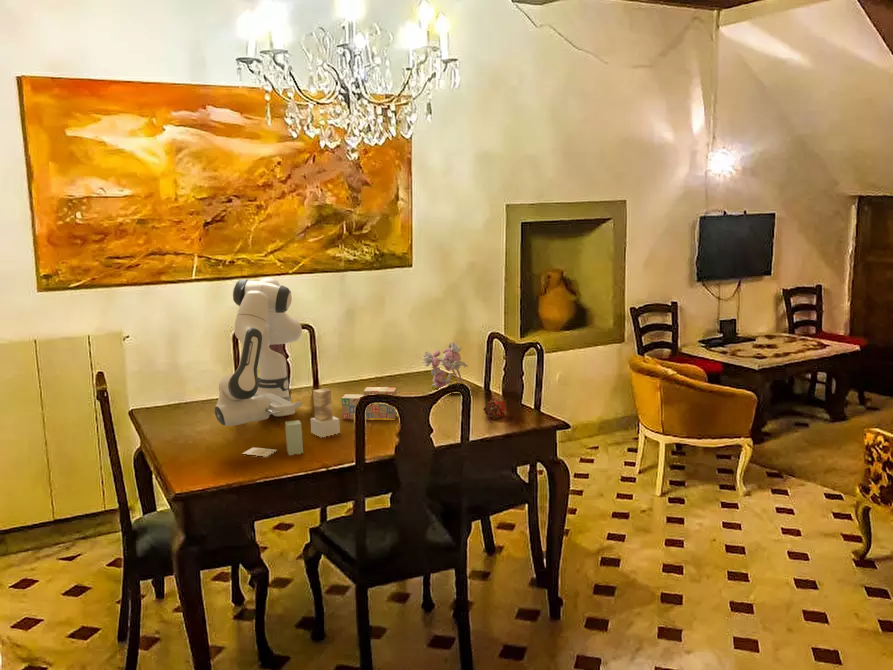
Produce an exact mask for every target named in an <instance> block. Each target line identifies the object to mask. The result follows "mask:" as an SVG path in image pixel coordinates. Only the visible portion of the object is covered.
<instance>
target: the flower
mask: <svg viewBox="0 0 893 670" xmlns="http://www.w3.org/2000/svg"><path fill="white" fill-rule="evenodd" d="M458 344H459V341H457V342H456V343H455V341H453V342H450V343H449V344H448V345H447V348H444V349H443V350H442V353H443V354H442V355H441V352H440V350H438V349H437V350H434V351H433V353H431V352H430V351H425V352H424V355H423V358H421V357H419V359H420V360H422V364H424V365H423V366H425V367H429V366H430V365H431V366H432V367H431V368H432V369H431V370H430V374H431V375H432V376H433V377H432V378H433V379H432V380H431V381H432V382H433V383H432V384H431V386H432V387H436V388H437V387H438V388H437V389H439V387H443V386H447V385H448V384H452V383H454V382H453V381H452V379H451V378H452V377H455V378H456V380H457V382H458V384H459V383H463V379H462V375H461V373H460V370H459V369H460V368H461V367H462V366H463V368H466V367H467V368H468V367H469V365H468V364H466V363H465V362H464V361H462V360H461V359H462V357H461V354H460V353H459V352H461V350H462V349H463V348H462V347H460V346H461V345H460V344H459V345H458ZM440 355H441V356H442V357H440V358H438V357H439V356H440ZM423 361H424V362H423ZM440 363H441V364H440ZM439 365H440V366H442V367H444V368H445V370H444V369H441V368H440V366H439ZM446 371H447V372H450V371H452V372H450V373H449V374H448V375H447V372H446ZM446 375H447V376H446Z"/></svg>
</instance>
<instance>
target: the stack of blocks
mask: <svg viewBox="0 0 893 670" xmlns="http://www.w3.org/2000/svg"><path fill="white" fill-rule="evenodd" d="M369 394H392V395H397V387H388V386H381V387H379V386H377V387H374V386H373V387H371V386H370V387H369V386H367V387H365V388H364V390H363V394H362V393H361V394H359V393H357V394H355V393H354V394H351V393H349V394H347V393H346V394H344V395H343V396H342V397H341V408H342V411H341V412H342V420H343V419H353V420H352V421H355V420H354V413H355V407H356V404H357V402H358V400H359V398H360V397H362V396H364V395H369ZM396 415H397V416H398V411H397V412H396V411H395V409H394V408H393V407H391V406H389V405H386V404H371V405H370V406H368V407H367V409H366V418H389V419H390V418H391V419H395V417H396ZM396 418H397V417H396ZM395 420H396V419H395Z"/></svg>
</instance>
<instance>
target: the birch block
mask: <svg viewBox="0 0 893 670" xmlns="http://www.w3.org/2000/svg"><path fill="white" fill-rule="evenodd" d="M312 396H313V397H312V398H313V409H314V410H313V411H314V418H315V419H317V420H319V421H324V420H329V419H333V416H334V415H333V401H332V390H331V389H328V388H326V387H323V388H318V389H314V390H312Z"/></svg>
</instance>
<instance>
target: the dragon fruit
mask: <svg viewBox="0 0 893 670" xmlns="http://www.w3.org/2000/svg"><path fill="white" fill-rule="evenodd" d="M506 410H507V407H506V403H505V402H504V401H503V400H501V399H500V398H498V397H495V398H493V399H491V400H489V401H488V402H486V404H485V406H484V408H483V411H484V414H485V415H486V416H488V417H489V418H491V419H493V420H498V419H499V418H504V417H505V416H506V415H505V414H506Z"/></svg>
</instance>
